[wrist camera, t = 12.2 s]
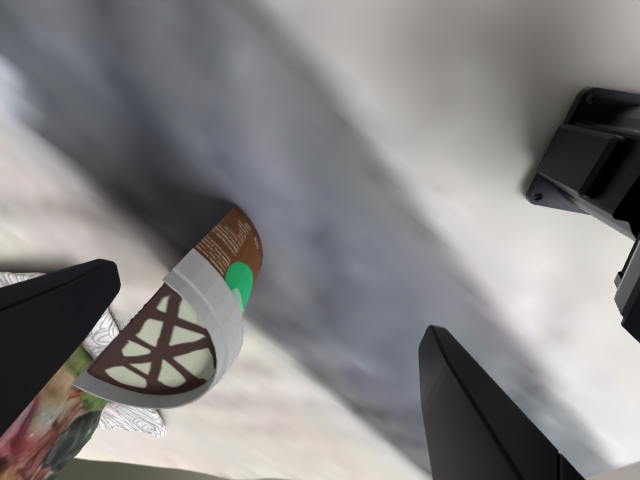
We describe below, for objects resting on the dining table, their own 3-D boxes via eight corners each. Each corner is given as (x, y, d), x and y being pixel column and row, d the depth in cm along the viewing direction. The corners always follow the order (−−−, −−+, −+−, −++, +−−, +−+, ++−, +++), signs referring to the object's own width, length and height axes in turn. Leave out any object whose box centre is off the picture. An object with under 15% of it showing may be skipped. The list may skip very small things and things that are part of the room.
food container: (221, 325, 28) (157, 438, 19) (165, 284, 26) (67, 387, 18) (311, 247, 23) (280, 355, 14) (248, 191, 21) (168, 272, 12)
